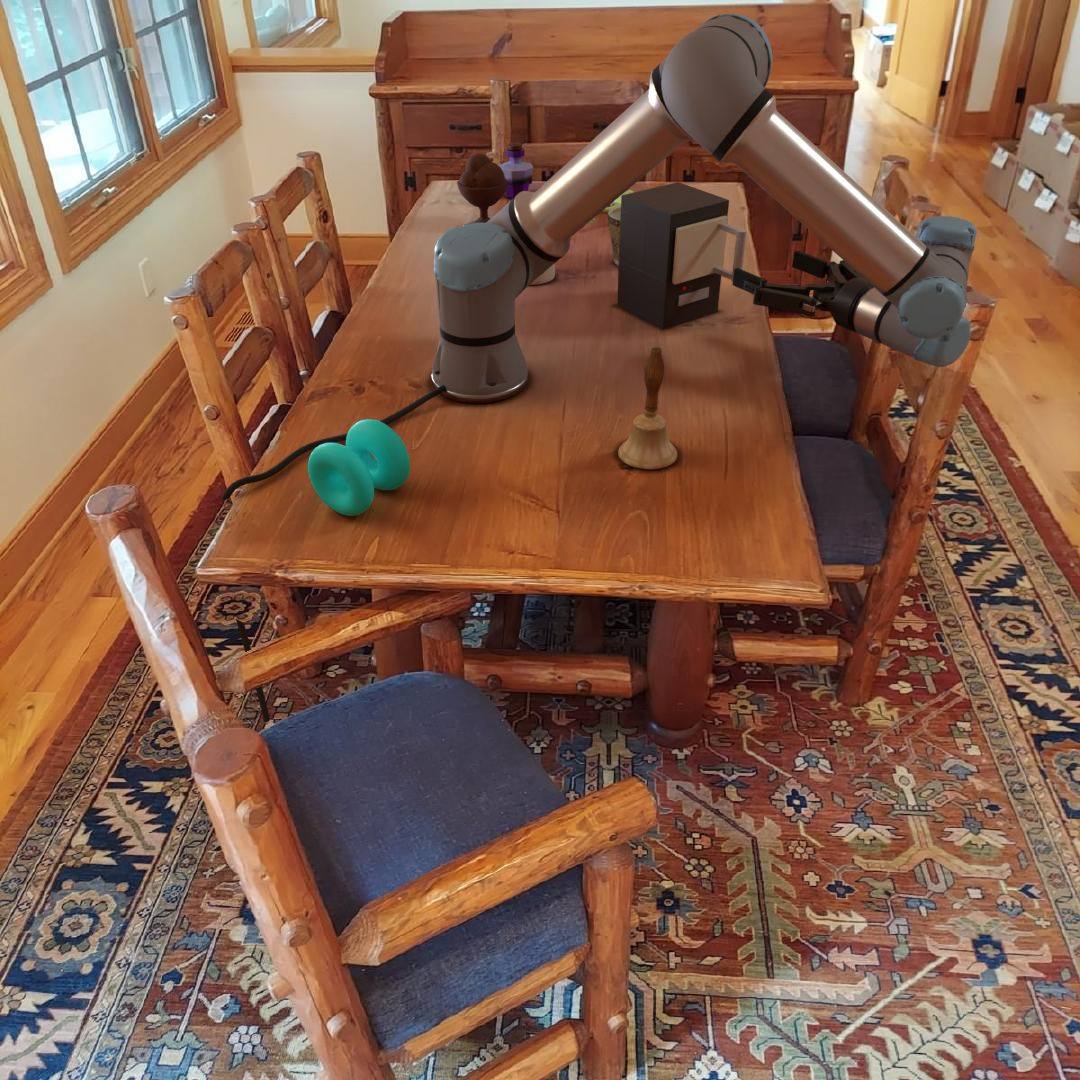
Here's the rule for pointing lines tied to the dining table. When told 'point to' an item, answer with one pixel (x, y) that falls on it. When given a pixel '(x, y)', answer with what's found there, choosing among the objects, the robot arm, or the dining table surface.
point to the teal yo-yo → (359, 467)
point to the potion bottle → (516, 171)
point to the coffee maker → (664, 254)
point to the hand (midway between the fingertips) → (765, 267)
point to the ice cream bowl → (482, 184)
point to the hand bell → (649, 425)
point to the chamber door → (705, 249)
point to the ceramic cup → (615, 231)
